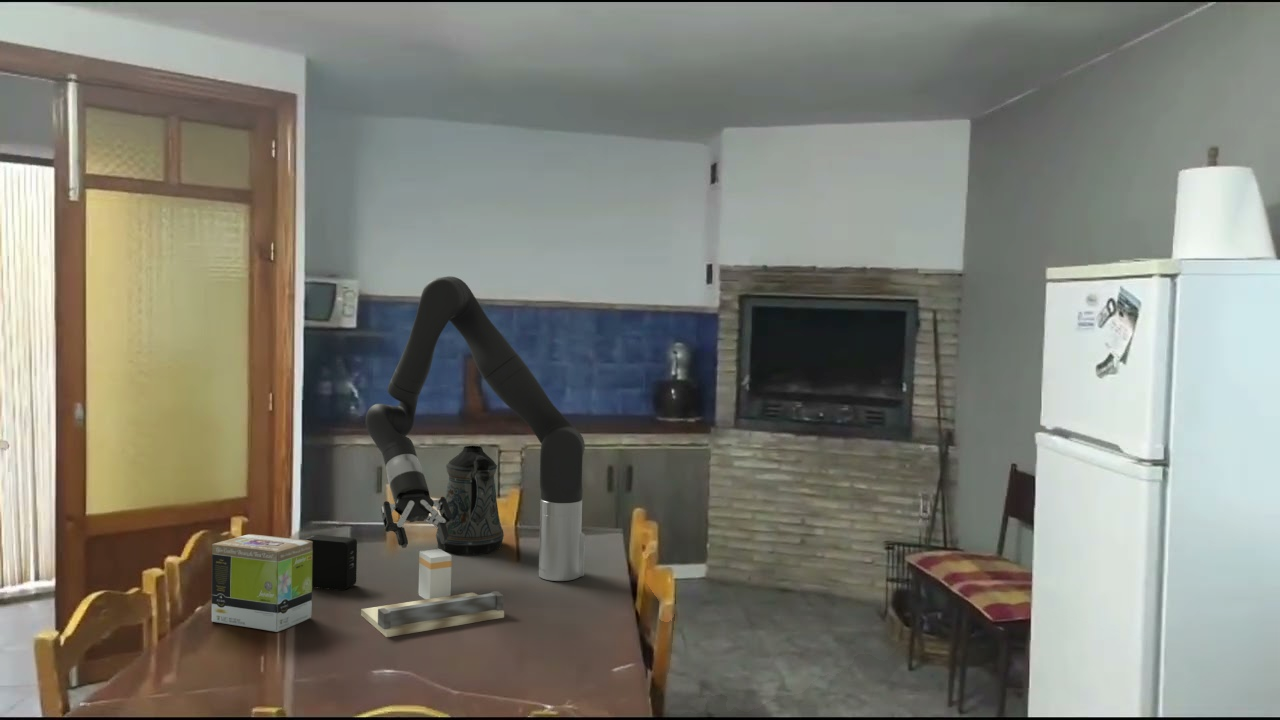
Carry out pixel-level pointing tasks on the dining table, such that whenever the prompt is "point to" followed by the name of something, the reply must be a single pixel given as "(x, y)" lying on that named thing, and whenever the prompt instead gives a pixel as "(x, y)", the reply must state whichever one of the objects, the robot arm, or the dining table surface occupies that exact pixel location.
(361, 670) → the dining table surface
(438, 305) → the robot arm
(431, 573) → the module
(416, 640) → the dining table surface
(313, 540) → the electronic device
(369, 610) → the mount board
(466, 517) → the beer stein
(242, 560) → the tea box
